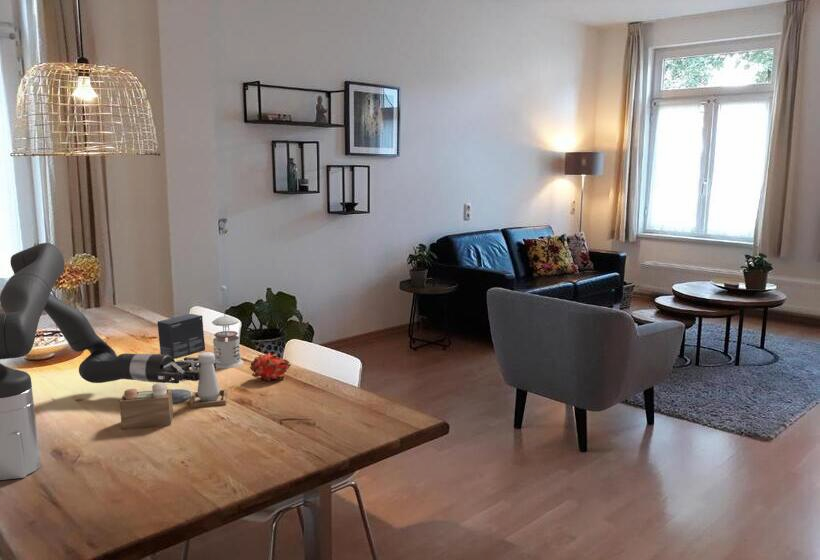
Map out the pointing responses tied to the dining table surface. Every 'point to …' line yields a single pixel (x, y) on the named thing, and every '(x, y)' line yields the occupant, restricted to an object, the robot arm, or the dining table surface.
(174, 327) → the small box
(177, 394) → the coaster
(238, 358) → the french press
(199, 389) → the salt shaker
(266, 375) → the dragon fruit
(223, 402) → the holder
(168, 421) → the caddy
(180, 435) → the dining table surface
